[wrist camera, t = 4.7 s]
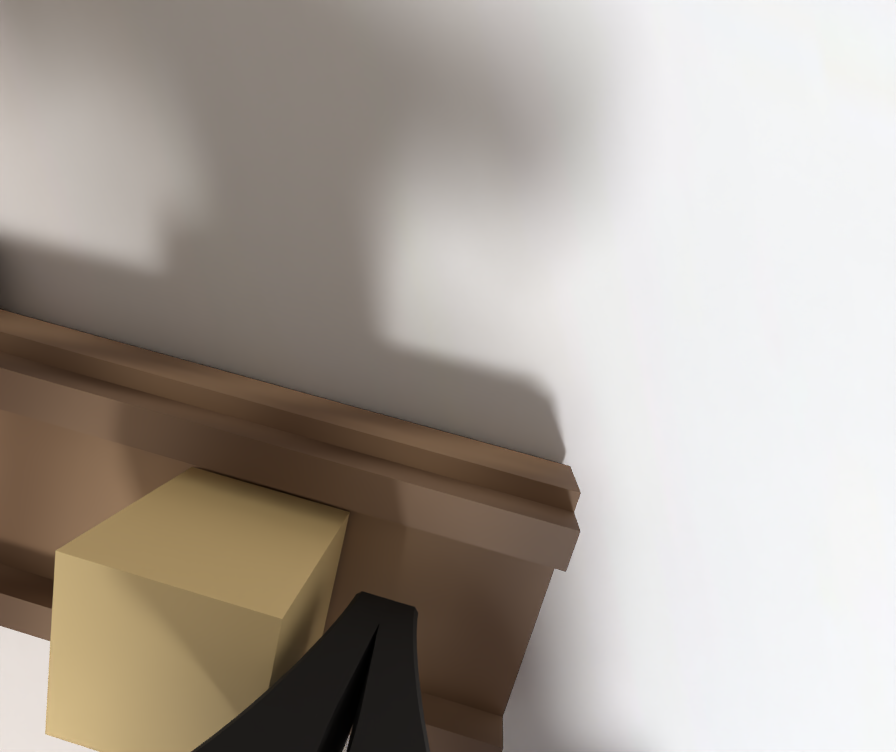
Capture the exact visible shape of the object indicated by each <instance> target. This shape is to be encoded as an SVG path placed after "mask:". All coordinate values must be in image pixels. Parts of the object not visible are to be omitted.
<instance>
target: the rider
mask: <svg viewBox="0 0 896 752" xmlns="http://www.w3.org/2000/svg"><path fill="white" fill-rule="evenodd" d="M349 513H350V512H348V511H344V510H341V509H337V508H334V507H330V506H327V505H323V504H320V503H316V502H313V501H309V500H306V499H302V498H299V497H296V496H292V495H289V494H285V493H282V492H278V491H275V490H271V489H268V488H264V487H261V486H257V485H254V484H250V483H247V482H243V481H240V480H236V479H233V478H229V477H226V476H222V475H219V474H215V473H212V472H208V471H205V470H202V469H198V468H195V467H191V468H189V469H188V470H186V471H185V472H183V473H181V474H180V475H178V476H176V477H175V478H173V479H172V480H170V481H168V482H167V483H165V484H163V485H162V486H160V487H158V488H157V489H155V490H154V491H152V492H150V493H149V494H147V495H145V496H144V497H142V498H141V499H139V500H137V501H136V502H134V503H132V504H131V505H129V506H128V507H126V508H124V509H123V510H121V511H119V512H118V513H116V514H115V515H113V516H111V517H110V518H108V519H106V520H105V521H103V522H101V523H100V524H98V525H97V526H95V527H93V528H92V529H90V530H88V531H87V532H85V533H84V534H82V535H80V536H79V537H77V538H75V539H74V540H72V541H71V542H69V543H67V544H66V545H64V546H62V547H61V548H59V549H57V550H56V551H55V568H54V586H53V604H52V622H51V640H50V658H49V676H48V694H47V712H46V730H45V734H47V735H50V736H53V737H56V738H59V739H62V740H65V741H68V742H71V743H75V744H78V745H81V746H84V747H87V748H90V749H93V750H96V751H99V752H191V751H193V750H194V749H195V748H197V747H198V746H199V745H201V744H202V743H203V742H205V741H206V740H207V739H209V738H210V737H211V736H213V735H214V734H215V733H217V732H218V731H219V730H220V729H222V728H223V727H224V726H225V725H226V724H228V723H229V722H230V721H231V720H233V719H234V718H235V717H236V716H238V715H239V714H240V713H241V712H242V711H244V710H245V709H246V708H247V707H248V706H250V705H251V704H252V703H253V702H254V701H255V700H256V699H258V698H259V697H260V696H261V695H262V694H263V693H264V692H266V691H267V690H268V689H269V688H270V687H271V686H272V685H273V684H274V683H275V682H276V681H277V680H278V679H280V678H281V677H282V676H283V675H284V674H285V673H286V672H287V671H288V670H289V669H290V668H291V667H292V666H293V665H294V664H296V663H297V662H298V661H299V660H300V659H301V658H302V657H303V655H304V654H305V653H306V652H307V651H308V650H309V649H310V648H311V647H312V646H313V645H314V644H315V643H316V642H317V641H318V640H319V639H320V638H321V637H322V635H323V631H324V626H325V622H326V617H327V613H328V608H329V604H330V599H331V595H332V590H333V586H334V581H335V577H336V572H337V568H338V563H339V559H340V554H341V550H342V545H343V541H344V536H345V531H346V527H347V522H348V518H349Z"/></svg>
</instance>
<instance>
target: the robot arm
mask: <svg viewBox="0 0 896 752" xmlns="http://www.w3.org/2000/svg"><path fill="white" fill-rule="evenodd" d="M417 619H418V611H417V610H416V608H415V607H414V606H410V605H407V604H404V603H400V602H397V601H394V600H390V599H387V598H384V597H380V596H377V595H373V594H370V593H367V592H363V591H361V592H359V593H357V594H356V595H355V596H354V598H353V599H352V601H351V602H350V604H349V605H348V606H347V608H346V609H345V610H344V611H343V613H342V614H341V615H340V616H339V617H338V619H337V620H336V621H335V622H334V623H333V624H332V626H331V627H330V628H329V629H328V630H327V631H326V632H325V633H324V635H323V636H322V637H321V638H320V639H319V640H318V641H317V642H316V643H315V644H314V645H313V646H312V647H311V648H310V649H309V650H308V651H307V652H306V653H305V654H304V655H303V657H302V658H301V659H300V660H299V661H298V662H297V663H296V664H294V665H293V666H292V667H291V668H290V669H289V670H288V671H287V672H286V673H285V674H284V675H283V676H282V677H281V678H280V679H278V680H277V681H276V682H275V683H274V684H273V685H272V686H271V687H270V688H269V689H268V690H267V691H266V692H264V693H263V694H262V695H261V696H260V697H259V698H258V699H256V700H255V701H254V702H253V703H252V704H251V705H250V706H248V707H247V708H246V709H245V710H244V711H242V712H241V713H240V714H239V715H238V716H236V717H235V718H234V719H233V720H231V721H230V722H229V723H228V724H226V725H225V726H224V727H223V728H222V729H220V730H219V731H218V732H217V733H215V734H214V735H213V736H211V737H210V738H209V739H207V740H206V741H205V742H203V743H202V744H201V745H199V746H198V747H197V748H195V749H194V750H193V751H191V752H342V751H343V748H344V746H345V743H346V741H347V738H348V736H349V733H350V731H351V728H352V731H351V735H350V739H349V744H348V748H347V752H430V748H429V742H428V737H427V731H426V725H425V719H424V712H423V706H422V697H421V689H420V681H419V671H418V657H417Z"/></svg>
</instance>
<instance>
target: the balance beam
mask: <svg viewBox="0 0 896 752" xmlns="http://www.w3.org/2000/svg"><path fill="white" fill-rule="evenodd" d="M191 467H195V468H198V469H202V470H205V471H208V472H212V473H215V474H219V475H222V476H226V477H229V478H233V479H236V480H240V481H243V482H247V483H250V484H254V485H257V486H261V487H264V488H268V489H271V490H275V491H278V492H282V493H285V494H289V495H292V496H296V497H299V498H302V499H306V500H309V501H313V502H316V503H320V504H323V505H327V506H330V507H334V508H337V509H341V510H344V511H348V512H350V513H349V518H348V522H347V527H346V531H345V536H344V541H343V545H342V550H341V554H340V559H339V563H338V568H337V572H336V577H335V581H334V586H333V590H332V595H331V599H330V604H329V608H328V613H327V617H326V622H325V626H324V631H323V635H324V633H325V632H326V631H327V630H328V629H329V628H330V627H331V626H332V624H333V623H334V622H335V621H336V620H337V619H338V617H339V616H340V615H341V614H342V613H343V611H344V610H345V609H346V608H347V606H348V605H349V604H350V602H351V601H352V599H353V598H354V596H355V595H356V594H357V593H359V592H361V591H363V592H367V593H370V594H373V595H377V596H380V597H384V598H387V599H390V600H394V601H397V602H400V603H404V604H407V605H410V606H414V607H415V608H416V610H417V611H418V619H417V657H418V671H419V681H420V689H421V697H422V706H423V712H424V719H425V725H426V731H427V737H428V742H429V748H430V752H502V750H503V714H504V711H505V708H506V706H507V703H508V700H509V697H510V694H511V691H512V688H513V685H514V683H515V680H516V677H517V674H518V671H519V668H520V665H521V663H522V660H523V657H524V654H525V651H526V648H527V645H528V642H529V640H530V637H531V634H532V631H533V628H534V625H535V622H536V619H537V617H538V614H539V611H540V608H541V605H542V602H543V599H544V597H545V594H546V591H547V588H548V585H549V582H550V579H551V576H552V574H553V571H554V568H555V569H559V570H562V571H566V570H567V567H568V564H569V561H570V558H571V556H572V553H573V550H574V547H575V544H576V542H577V539H578V536H579V533H580V529H579V526H578V523H577V520H576V517H575V514H574V510H575V508H576V505H577V502H578V499H579V496H580V490H579V487H578V485H577V482H576V480H575V477H574V475H573V472H572V470H571V467H570V466H567V465H564V464H560V463H556V462H553V461H549V460H546V459H542V458H538V457H535V456H531V455H527V454H524V453H520V452H517V451H513V450H509V449H506V448H502V447H498V446H495V445H491V444H487V443H484V442H480V441H477V440H473V439H469V438H466V437H462V436H458V435H455V434H451V433H448V432H444V431H440V430H437V429H433V428H429V427H426V426H422V425H418V424H415V423H411V422H408V421H404V420H400V419H397V418H393V417H389V416H386V415H382V414H379V413H375V412H371V411H368V410H364V409H360V408H357V407H353V406H349V405H346V404H342V403H339V402H335V401H331V400H328V399H324V398H320V397H317V396H313V395H310V394H306V393H302V392H299V391H295V390H291V389H288V388H284V387H280V386H277V385H273V384H270V383H266V382H262V381H259V380H255V379H251V378H248V377H244V376H241V375H237V374H233V373H230V372H226V371H222V370H219V369H215V368H211V367H208V366H204V365H201V364H197V363H193V362H190V361H186V360H182V359H179V358H175V357H172V356H168V355H164V354H161V353H157V352H153V351H150V350H146V349H142V348H139V347H135V346H132V345H128V344H124V343H121V342H117V341H113V340H110V339H106V338H103V337H99V336H95V335H92V334H88V333H84V332H81V331H77V330H74V329H70V328H66V327H63V326H59V325H55V324H52V323H48V322H44V321H41V320H37V319H34V318H30V317H26V316H23V315H19V314H15V313H12V312H8V311H5V310H1V309H0V626H3V627H6V628H10V629H13V630H16V631H19V632H22V633H26V634H29V635H32V636H35V637H38V638H42V639H45V640H48V641H50V640H51V622H52V604H53V586H54V568H55V551H56V550H57V549H59V548H61V547H62V546H64V545H66V544H67V543H69V542H71V541H72V540H74V539H75V538H77V537H79V536H80V535H82V534H84V533H85V532H87V531H88V530H90V529H92V528H93V527H95V526H97V525H98V524H100V523H101V522H103V521H105V520H106V519H108V518H110V517H111V516H113V515H115V514H116V513H118V512H119V511H121V510H123V509H124V508H126V507H128V506H129V505H131V504H132V503H134V502H136V501H137V500H139V499H141V498H142V497H144V496H145V495H147V494H149V493H150V492H152V491H154V490H155V489H157V488H158V487H160V486H162V485H163V484H165V483H167V482H168V481H170V480H172V479H173V478H175V477H176V476H178V475H180V474H181V473H183V472H185V471H186V470H188V469H189V468H191ZM323 635H322V636H323ZM351 731H352V728H351ZM351 731H350V733H349V734H350V735H351Z"/></svg>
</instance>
